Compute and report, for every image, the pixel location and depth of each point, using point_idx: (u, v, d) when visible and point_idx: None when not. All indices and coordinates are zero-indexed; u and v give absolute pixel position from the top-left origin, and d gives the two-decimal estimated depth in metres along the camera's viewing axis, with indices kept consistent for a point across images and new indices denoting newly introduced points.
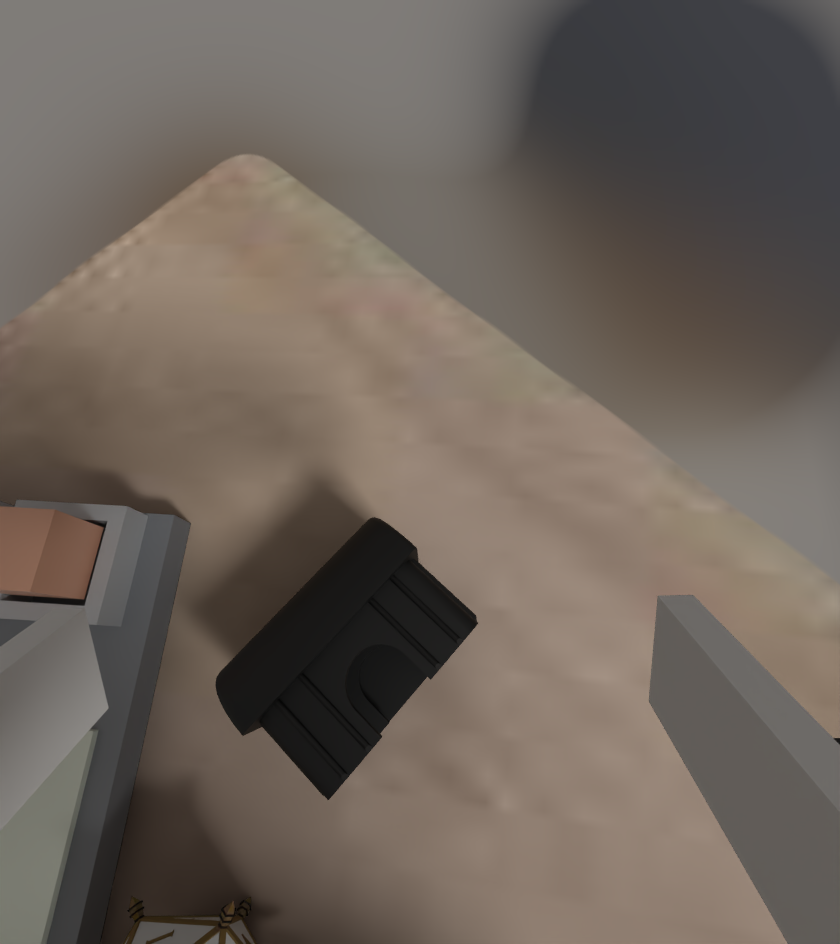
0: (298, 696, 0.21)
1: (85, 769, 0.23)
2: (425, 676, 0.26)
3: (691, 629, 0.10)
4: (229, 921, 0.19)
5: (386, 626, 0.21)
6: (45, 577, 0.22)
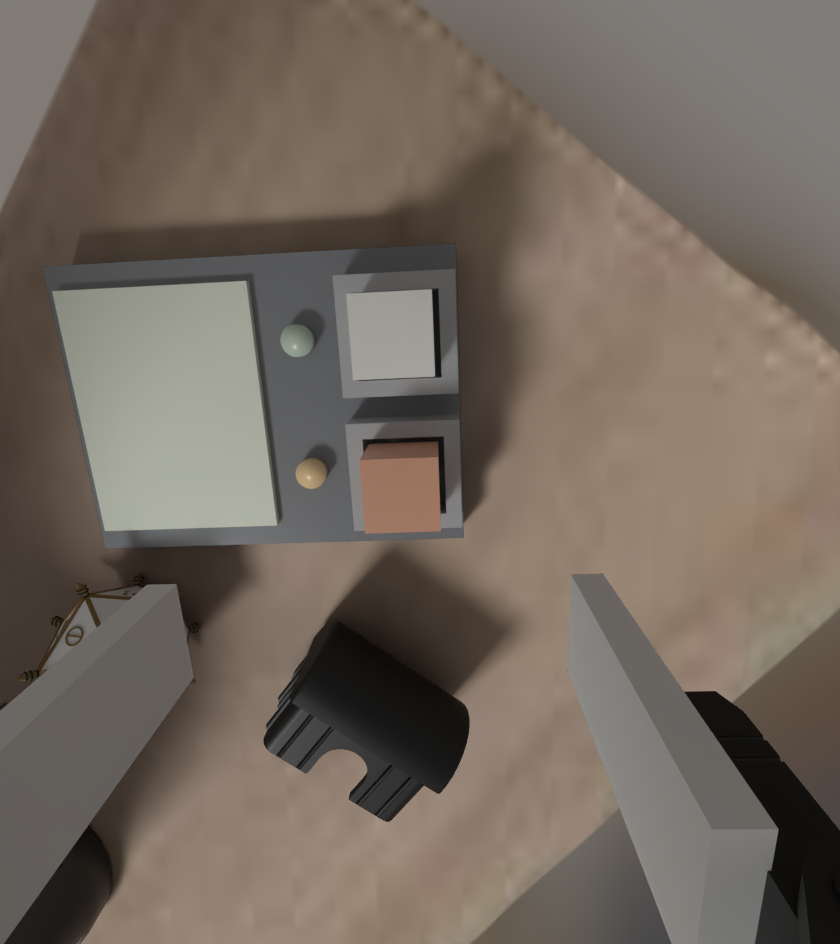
0: (322, 721, 0.28)
1: (250, 525, 0.29)
2: None
3: (591, 602, 0.11)
4: None
5: (380, 771, 0.28)
6: None
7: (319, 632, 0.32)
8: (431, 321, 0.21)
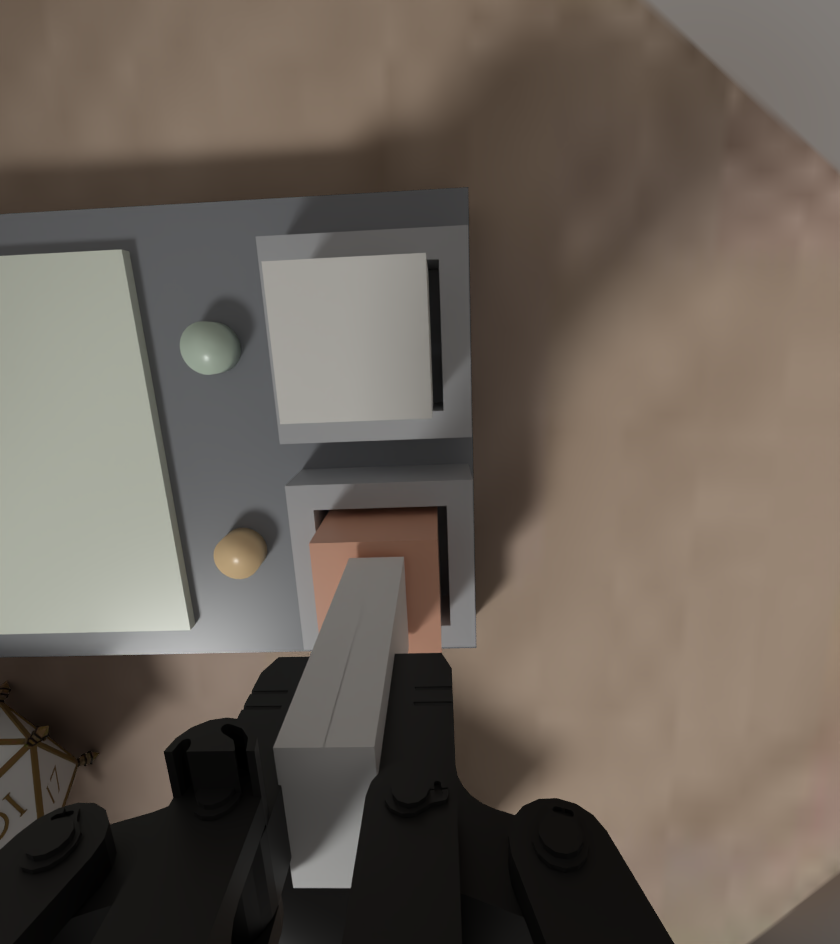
0: None
1: (149, 629, 0.19)
2: None
3: (373, 579, 0.12)
4: None
5: None
6: None
7: None
8: (425, 315, 0.11)
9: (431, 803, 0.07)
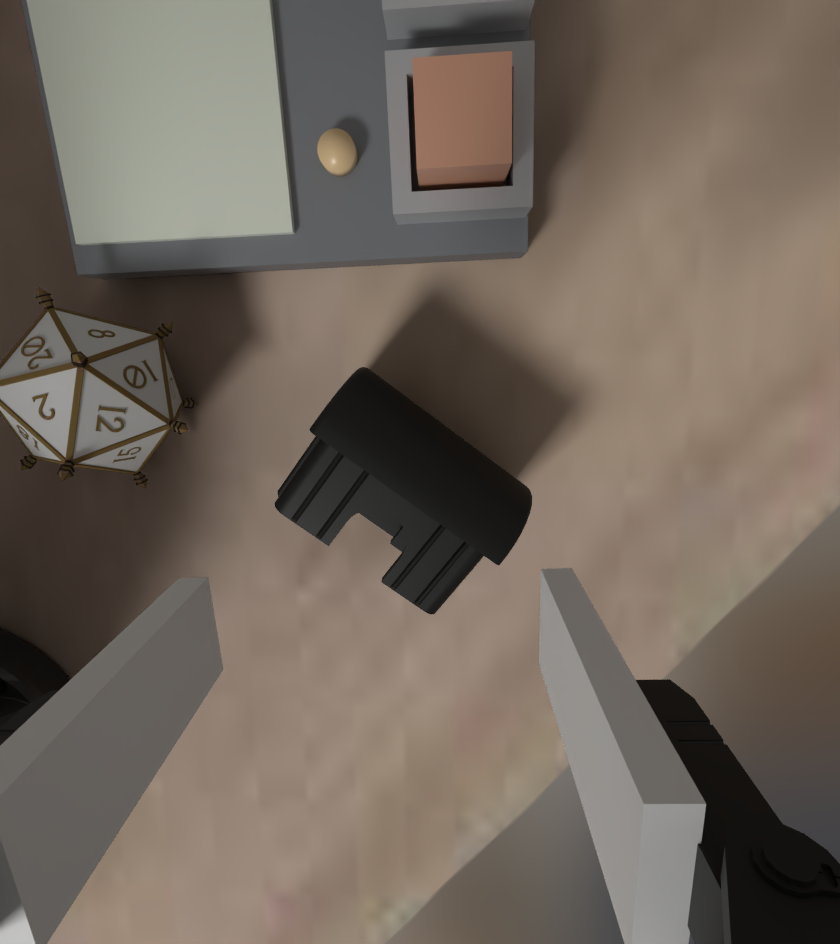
0: (350, 469, 0.22)
1: (258, 234, 0.23)
2: (389, 532, 0.28)
3: (556, 595, 0.11)
4: (175, 430, 0.23)
5: (422, 540, 0.22)
6: (434, 173, 0.19)
7: None
8: None
9: (821, 890, 0.05)
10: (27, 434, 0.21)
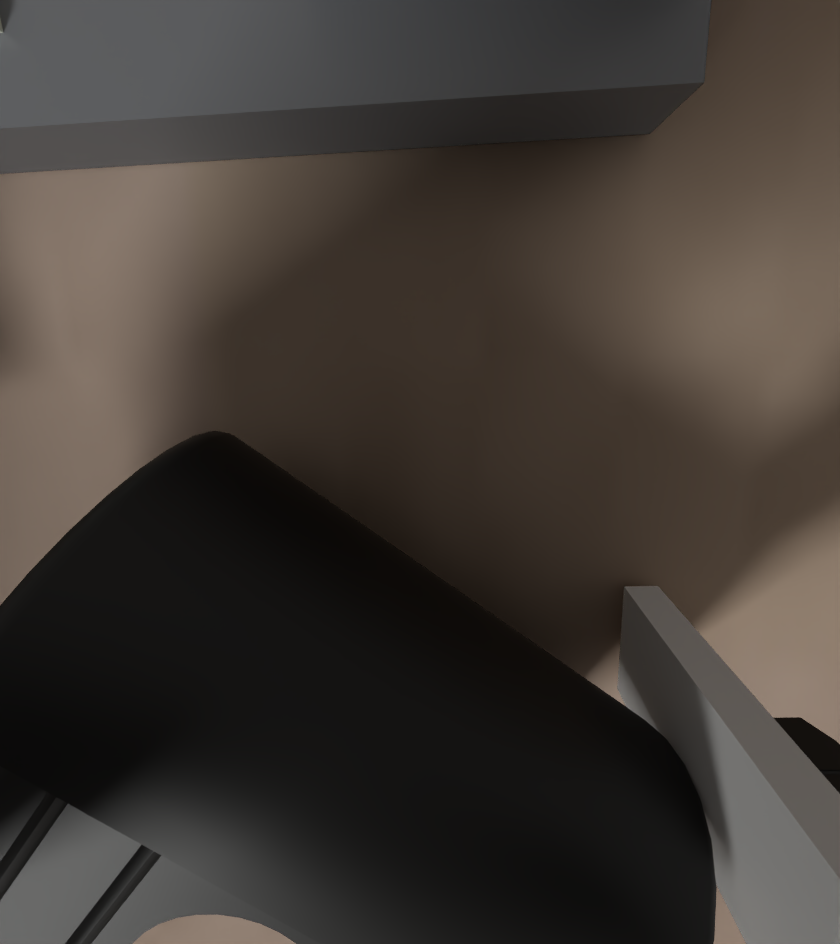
0: None
1: None
2: None
3: (652, 617, 0.10)
4: None
5: None
6: None
7: None
8: None
9: None
10: None
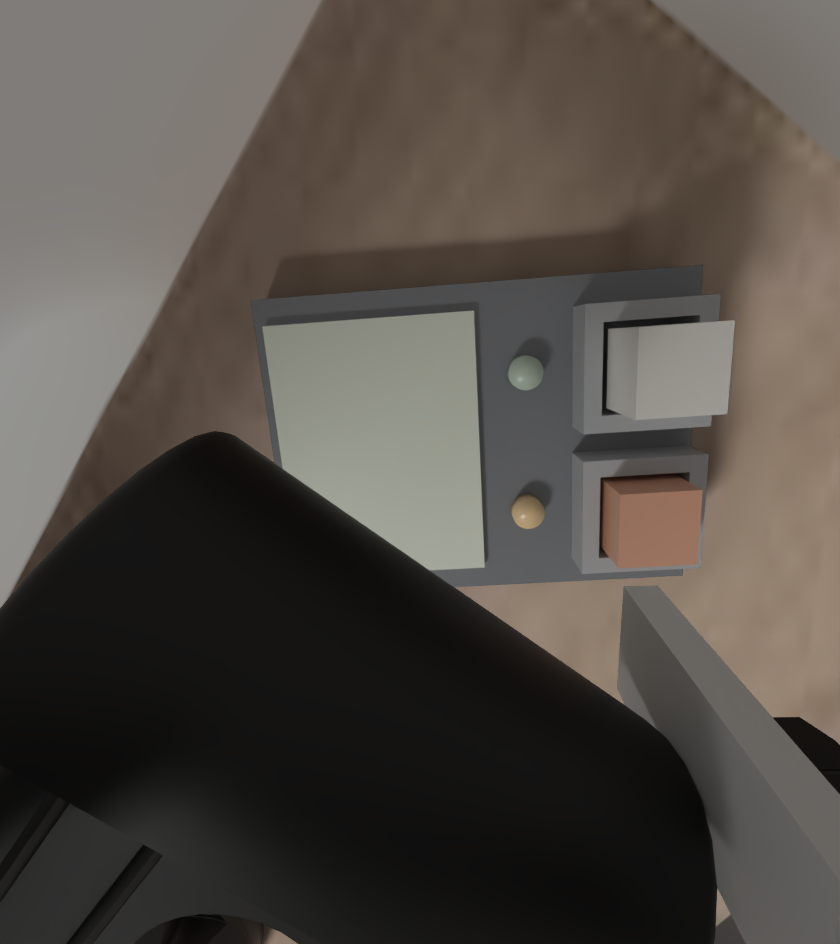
0: None
1: (454, 568, 0.27)
2: None
3: (651, 616, 0.10)
4: None
5: None
6: None
7: None
8: (731, 355, 0.19)
9: None
10: None
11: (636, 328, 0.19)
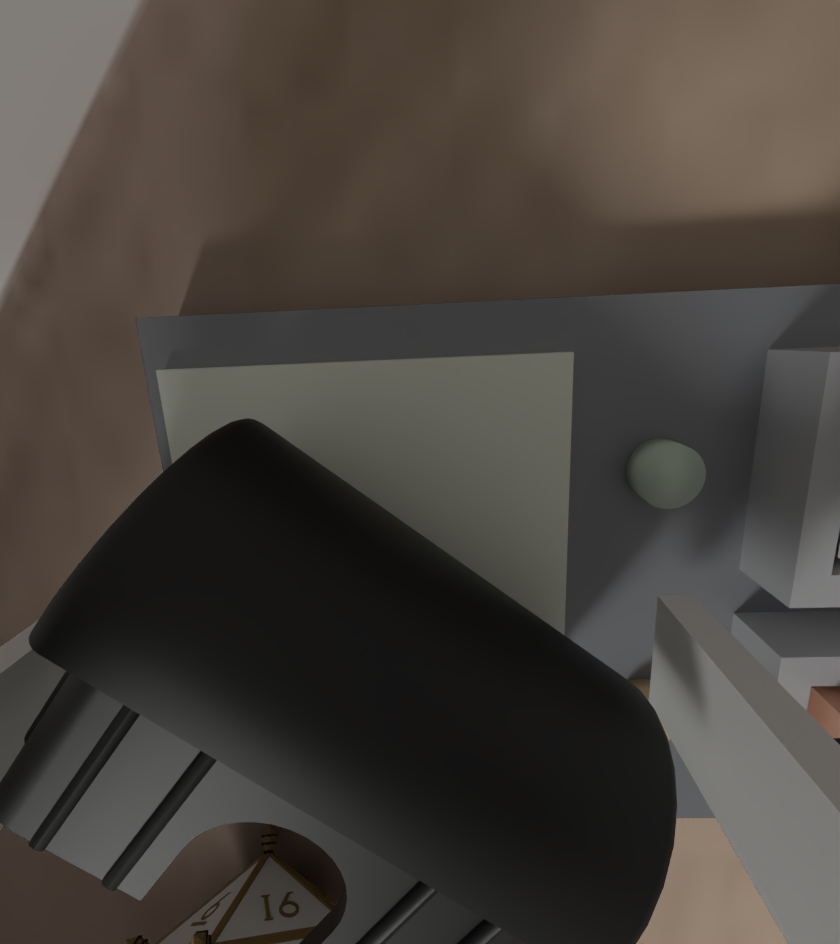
0: None
1: None
2: None
3: (691, 629, 0.10)
4: None
5: (390, 898, 0.08)
6: None
7: None
8: None
9: None
10: None
11: None
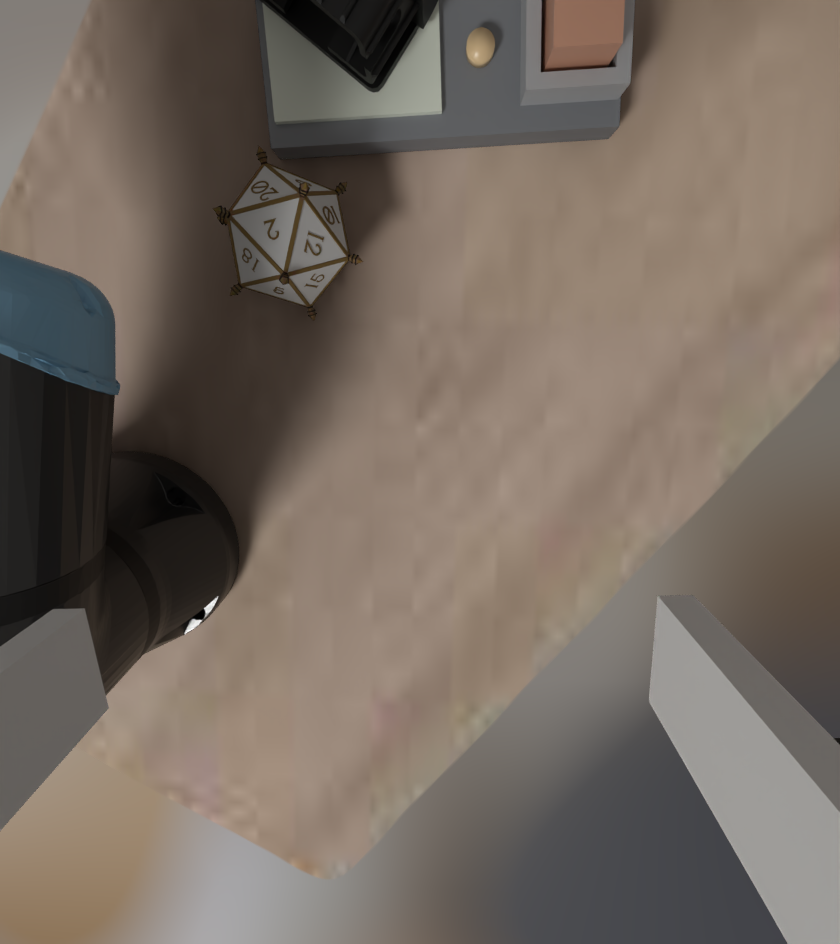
0: None
1: (414, 113, 0.30)
2: (328, 52, 0.29)
3: (691, 629, 0.10)
4: (352, 261, 0.30)
5: None
6: (563, 53, 0.27)
7: None
8: None
9: None
10: (251, 255, 0.29)
11: None
